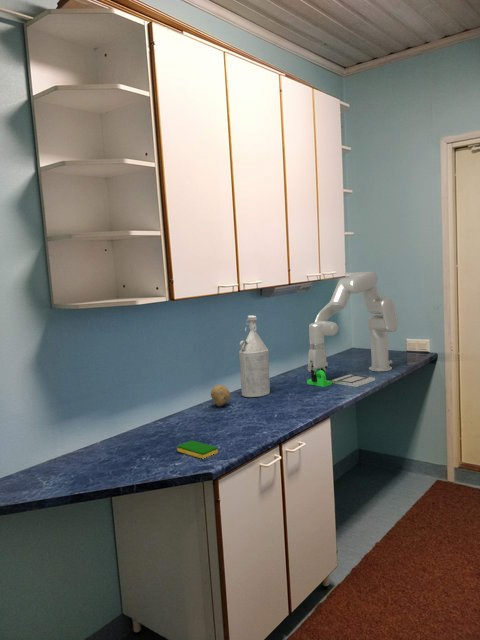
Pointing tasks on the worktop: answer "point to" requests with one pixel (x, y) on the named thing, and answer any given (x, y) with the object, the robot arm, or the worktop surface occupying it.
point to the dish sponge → (197, 449)
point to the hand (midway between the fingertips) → (318, 380)
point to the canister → (254, 364)
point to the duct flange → (353, 380)
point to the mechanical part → (320, 380)
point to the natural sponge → (220, 395)
